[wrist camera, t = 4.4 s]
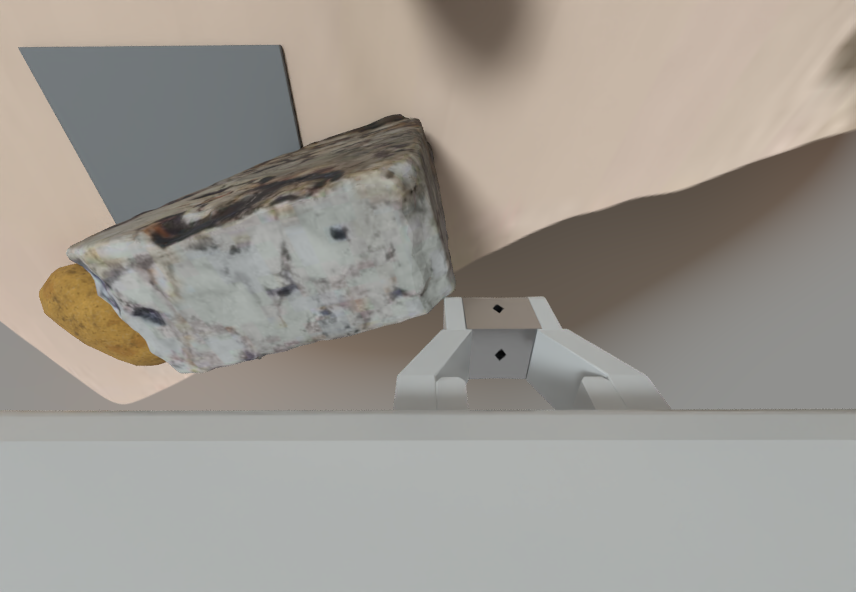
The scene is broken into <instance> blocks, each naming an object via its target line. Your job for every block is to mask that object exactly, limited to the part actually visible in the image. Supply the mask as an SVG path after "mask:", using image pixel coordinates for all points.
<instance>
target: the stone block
mask: <svg viewBox="0 0 856 592" xmlns="http://www.w3.org/2000/svg"><path fill="white" fill-rule="evenodd" d="M66 254H67V256H68V258H69V259H70V260H71V261H73V262H75V263H77V264H79V265H81V266H82V267H83V268H84V269H86V270H87V271H88V272H89V273H90V274H91V276H92V277H93V279H94V281H95V285H96V290H97V294H98V296H100V297H101V298H102V299H104V300H105V301H106V302H108V303H109V304H110V305H111V306H112V307H113V309H114V310H115V312H116V313H117V314H118V316H119V317H120V318H121V319H122V320H123V321H124V322H125V323H127V324H128V325H129V326H130V327H131V328H132V329H133V330H135V331H137V332H138V333H139V334H140V335H141V336H142V337H143V338H144V339H145V340H146V342H147V345H148V347H149V350H150V352H151V353H152V354H154V355H156V356H158V357H160V358H162V359H163V360H165V361H166V362H167V363H169V364H170V365H171V366H172V367H173V368H174V369H176V370H177V371H178V372H180V373H203V372H207V371H210V370H212V369H215V368H219V367H226V366H230V365H234V364H238V363H241V362H244V361H249V360H254V359H261V357H263V356H265V355H266V354H273V353H279V352H284V351H288V350H290V349H292V348H296V347H298V346H302V345H306V344H311V343H314V342H317V341H319V340H331V339H337V338H342V337H347V336H351V335H355V334H358V333H361V332H364V331H368V330H372V329H376V328H379V327H382V326H385V325H390V324H395V323H400V322H403V321H406V320H408V319H410V318H414V317H418V316H421V315H425V314H428V313H429V312H430V311H431V309H433V308H434V307H435V306H436V305H437V304H438V302H440V301H441V300H442V299H443V298H445V297H446V296H448V295H449V294H451V293H452V292H453V291H454V290H455V286H456V280H455V276H454V273H453V267H452V263H451V257H450V253H449V250H448V235H447V231H446V225H445V216H444V212H443V207H442V201H441V195H440V190H439V183H438V179H437V174H436V170H435V166H434V158H433V153H432V149H431V147H430V145H429V143H428V142H427V141H426V138H425V135H424V130H423V127H422V124H421V122H420V120H419V119H416V118H411V119H409V118H405V117H404V116H402V115H401V114H398V115H391V116H387V117H384V118H382V119H380V120H378V121H375V122H373V123H371V124H369V125H366V126H363V127H360V128H357V129H354V130H351V131H347V132H344V133H341V134H338V135H335V136H332V137H329V138H327V139H324V140H322V141H318V142H314V143H311V144H309V145H307V146H305V147H303V148H301V149H299V150H296V151H294V152H290V153H286V154H283V155H280V156H277V157H275V158H273V159H271V160H268V161H265V162H263V163H260V164H258V165H255V166H253V167H251V168H249V169H247V170H245V171H242V172H240V173H238V174H235V175H233V176H231V177H229V178H226V179H223V180H221V181H219V182H216V183H214V184H212V185H210V186H208V187H206V188H203V189H200V190H198V191H195V192H193V193H190V194H187V195H185V196H182V197H180V198H178V199H176V200H174V201H171V202H169V203H167V204H165V205H163V206H161V207H159V208H157V209H153V210H149V211H145V212H142V213H140V214H138V215H136V216H134V217H132V218H131V219H129V220H126V221H124V222H121V223H119V224H116V225H114V226H111V227H109V228H107V229H105V230H103V231H101V232H99V233H96V234H94V235H92V236H90V237H88V238H86V239H84V240H83V241H80V242H78V243H76V244H74V245H72V246H71V247H70V248H68V250H67V252H66Z"/></svg>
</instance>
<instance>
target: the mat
mask: <svg viewBox="0 0 856 592" xmlns="http://www.w3.org/2000/svg"><path fill="white" fill-rule="evenodd" d="M18 48H19V50H20V52H21V54H22V55H23V57H24V59H25V61H26V63H27V64H28V66H29V68H30V70H31V72H32V73H33V75H34V77H35V79H36V81H37V82H38V84H39V86H40V88H41V90H42V91H43V93H44V95H45V97H46V99H47V100H48V102H49V104H50V106H51V108H52V109H53V111H54V113H55V115H56V117H57V118H58V120H59V122H60V124H61V126H62V127H63V129H64V131H65V133H66V135H67V136H68V138H69V140H70V142H71V144H72V145H73V147H74V149H75V151H76V153H77V154H78V156H79V158H80V160H81V162H82V163H83V165H84V167H85V169H86V171H87V172H88V174H89V176H90V178H91V180H92V181H93V183H94V185H95V187H96V189H97V190H98V192H99V194H100V196H101V198H102V199H103V201H104V203H105V205H106V207H107V208H108V210H109V212H110V214H111V215H112V217H113V219H114V221H115V223H116V224H119V223H121V222H124V221H126V220H129V219H131V218H132V217H134V216H136V215H138V214H140V213H142V212H145V211H149V210H153V209H157V208H159V207H161V206H163V205H165V204H167V203H169V202H171V201H174V200H176V199H178V198H180V197H182V196H185V195H187V194H190V193H193V192H195V191H198V190H200V189H203V188H206V187H208V186H210V185H212V184H214V183H216V182H219V181H221V180H223V179H226V178H229V177H231V176H233V175H235V174H238V173H240V172H242V171H245V170H247V169H249V168H251V167H253V166H255V165H258V164H260V163H263V162H265V161H268V160H271V159H273V158H275V157H277V156H280V155H283V154H286V153H290V152H294V151H296V150H299V149H301V148H302V147H301V142H300V137H299V132H298V127H297V122H296V117H295V112H294V107H293V102H292V97H291V92H290V87H289V82H288V77H287V72H286V67H285V62H284V57H283V52H282V48H281V45H224V46H117V47H18Z"/></svg>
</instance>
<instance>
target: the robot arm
mask: <svg viewBox="0 0 856 592" xmlns="http://www.w3.org/2000/svg"><path fill="white" fill-rule="evenodd" d="M443 324H444V325H443V330H441V331H440V332H439V333H438V334H437V335H436V336H435V337H434V338H433V339H432V340H431V341H430V343H428V345H426V346H425V348H424V349H423V350H422V351H421V352H420V353H419V354H418V355H417V356H416V357H415V358H414V359H413V360H412V361H411V362H410V363H409V364H408V365H407V366H406V367H405V368H404V369H403V370H402V371H401V373H399V375H398V376H397V383H396V391H395V399H394V409H393V410H291V411H290V410H283V411H282V410H278V411H277V410H274V411H270V410H265V411H263V410H258V411H256V410H255V411H254V410H252V411H13V410H12V411H10V410H9V411H8V410H1V411H0V592H856V409H730V410H729V409H711V410H710V409H705V410H703V409H696V410H695V409H693V410H692V409H690V410H689V409H686V410H683V409H682V410H681V409H680V410H675V409H674V410H673V409H671V408H670V406H669V405H668V404H667V402H666V401H665V400H664V398H663V397H662V395H661V394H660V393H659V391H658V390H657V389H656V387H655V386H654V385H653V384H652V382H651V381H650V379H649V378H648V377H647V375H645V374H643V373H642V372H640V371H638V370H636V369H635V368H633V367H631V366H629V365H628V364H626V363H625V362H623V361H621V360H619V359H618V358H616V357H614V356H613V355H611V354H609V353H608V352H606V351H604V350H602V349H601V348H599V347H597V346H596V345H594V344H592V343H591V342H588V341H587V340H585V339H584V338H582V337H580V336H579V335H577V334H575V333H574V332H572V331H570V330H568V329H562V327H561V325H560V324H559V322H558V320H557V318H556V316H555V315H554V313H553V311H552V309H551V307H550V305H549V304H548V302H547V300H546V298H545V297H543V296H539V297H538V296H537V297H514V298H492V297H491V298H490V297H445V298H444V323H443ZM483 378H512V379H526V380H527V381H528V382H529V383H530V384H531V385H532V386H533V387H534V388H535V389H536V391H538V393H539V394H541V396H543V398H544V399H546V401H547V402H548V403H549V404H550V405H551V406H552V407H553V408H555V410H469V408H468V400H467V393H466V383H467V382H468V379H483Z"/></svg>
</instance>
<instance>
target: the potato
mask: <svg viewBox="0 0 856 592" xmlns="http://www.w3.org/2000/svg"><path fill="white" fill-rule="evenodd" d="M39 298H40V301H41V304H42V307H43V310H44V313H45V314H46V315H47V316H48V317H50V318H51V319H52V320H53V321H55V322H56V323H57V324H58V325H59V326H61V327H62V328H63V329H65V330H66V331H67V332H69V333H70V334H71V335H73V336H74V337H76V338H77V339H79V340H80V341H82V342H83V343H84V344H86V345H88V346H90V347H93V348H95V349H97V350H99V351H101V352H103V353H105V354H108V355H110V356H112V357H114V358H116V359H118V360H121V361H124V362H127V363H130V364H133V365H136V366H153V365H159V364H162V363H165V362H166V361H165V360H163V359H162V358H160V357H158V356H156V355H154V354H152V353H151V352H150V350H149V347H148V345H147V342H146V340H145V339H144V338H143V337H142V336H141V335H140V334H139V333H138V332H137V331H135V330H133V329H132V328H131V327H130V326H129V325H128V324H127V323H125V322H124V321H123V320H122V319H121V318H120V317H119V316H118V314H117V313H116V312H115V310H114V309H113V307H112V306H111V305H110V304H109V303H108V302H106V301H105V300H104V299H102V298H101V297H100V296H98V294H97V290H96V285H95V281H94V279H93V277H92V276H91V274H90V273H89V272H88V271H87V270H86V269H84V268H83V267H82V266H81V265H79V264H77V263H76V264H72V265H68V266H65V267H61V268H58V269H57V270H56V271H54V272H53V273H52V274H51V275H50V277H49V278H48V279H47V281H46V282H45V284H44V285H43V287H42V288H41V290H40V291H39Z"/></svg>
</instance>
